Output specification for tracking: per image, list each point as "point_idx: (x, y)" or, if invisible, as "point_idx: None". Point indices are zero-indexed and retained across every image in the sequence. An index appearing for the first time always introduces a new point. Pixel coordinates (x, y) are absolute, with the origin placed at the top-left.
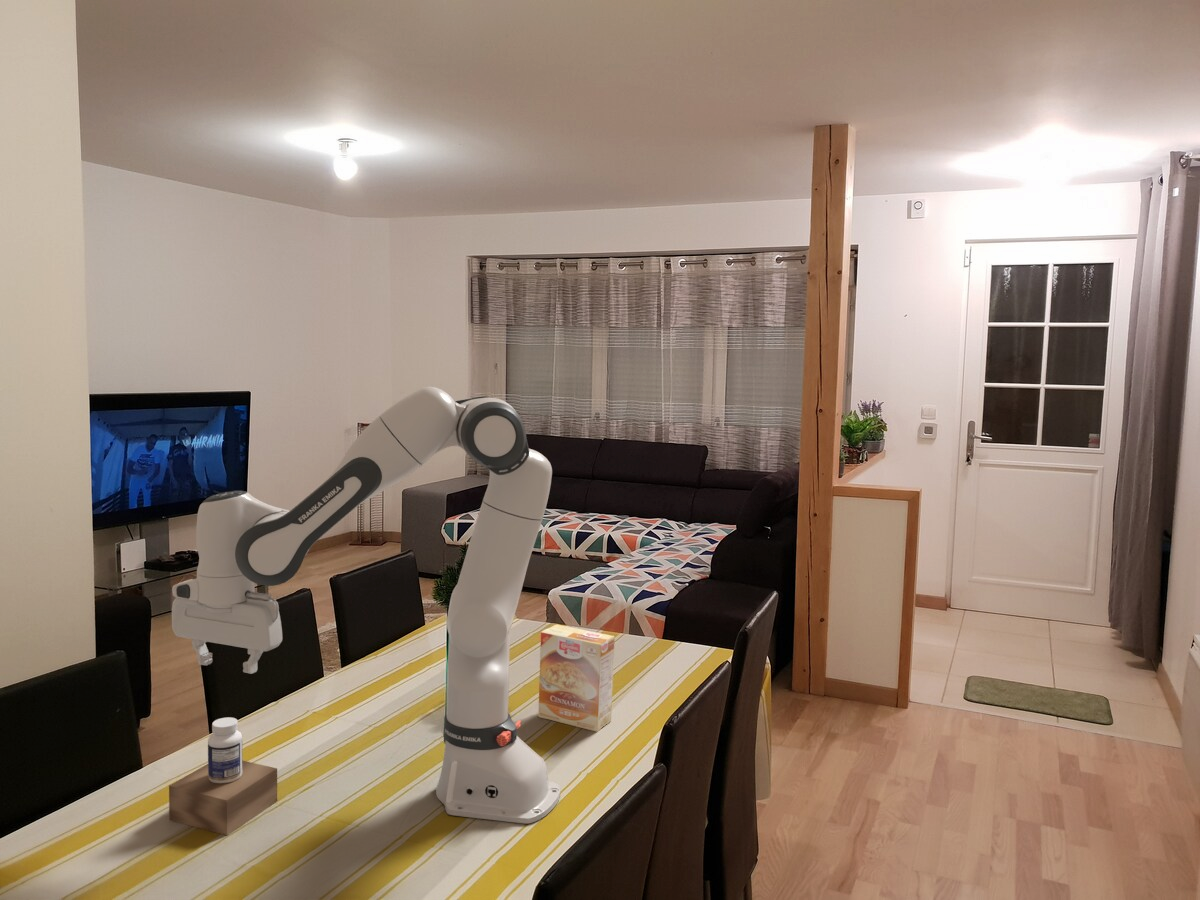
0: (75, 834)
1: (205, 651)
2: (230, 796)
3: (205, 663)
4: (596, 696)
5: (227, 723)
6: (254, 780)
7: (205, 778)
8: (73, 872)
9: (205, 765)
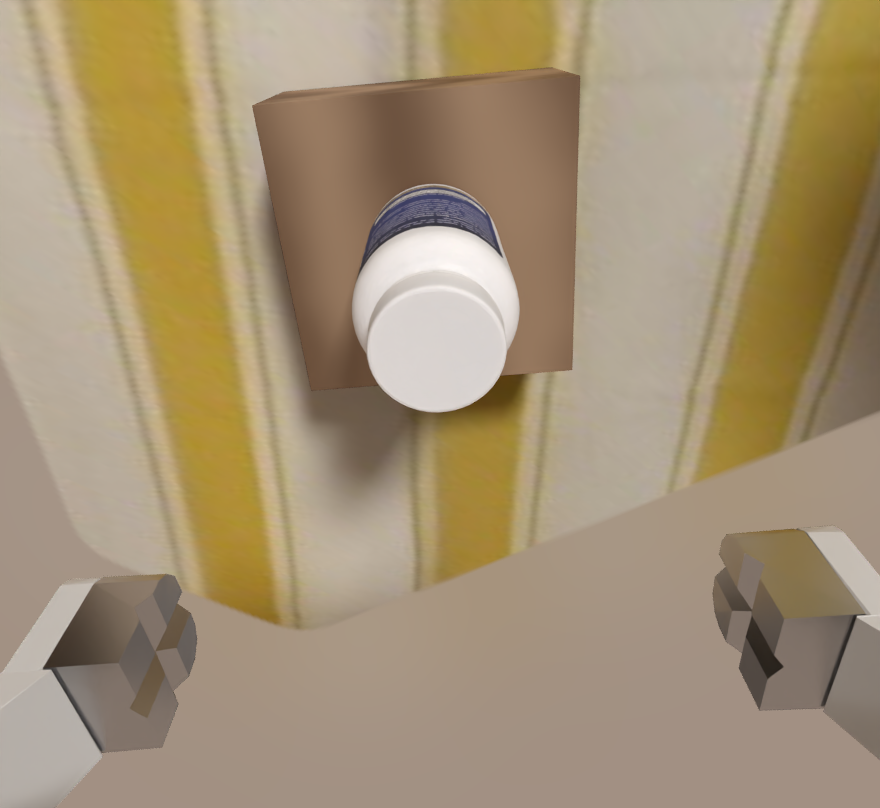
0: (189, 484)
1: (47, 719)
2: (565, 347)
3: (189, 656)
4: None
5: (463, 358)
6: (561, 215)
7: None
8: (349, 564)
9: (276, 215)
